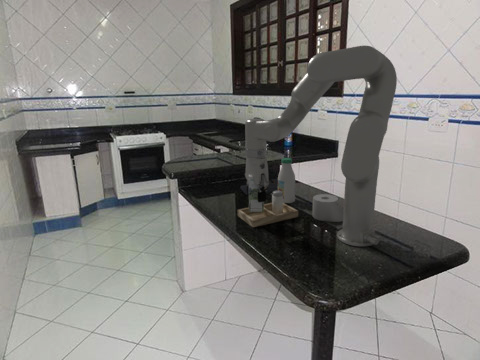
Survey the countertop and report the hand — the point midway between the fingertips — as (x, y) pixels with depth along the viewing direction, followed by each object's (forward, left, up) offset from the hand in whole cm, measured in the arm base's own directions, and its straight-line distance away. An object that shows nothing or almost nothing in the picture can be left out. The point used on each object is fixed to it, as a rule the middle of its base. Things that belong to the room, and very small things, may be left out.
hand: (256, 198), depth 124 cm
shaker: (0, -10, -8) cm, 13 cm away
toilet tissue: (-13, -25, -10) cm, 29 cm away
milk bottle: (+12, -22, -10) cm, 27 cm away
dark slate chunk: (+33, -22, -10) cm, 41 cm away
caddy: (0, -5, -9) cm, 11 cm away
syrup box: (0, 0, -5) cm, 5 cm away
